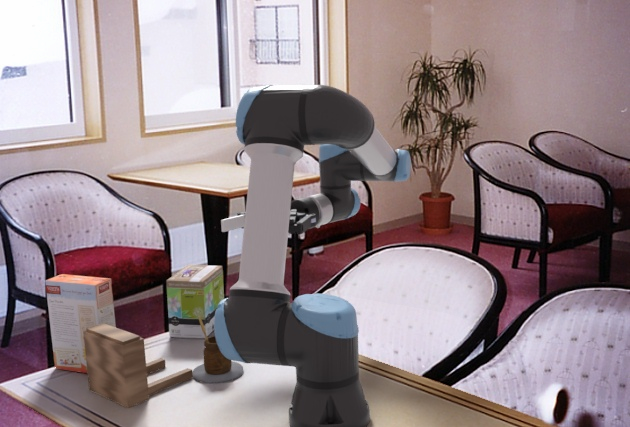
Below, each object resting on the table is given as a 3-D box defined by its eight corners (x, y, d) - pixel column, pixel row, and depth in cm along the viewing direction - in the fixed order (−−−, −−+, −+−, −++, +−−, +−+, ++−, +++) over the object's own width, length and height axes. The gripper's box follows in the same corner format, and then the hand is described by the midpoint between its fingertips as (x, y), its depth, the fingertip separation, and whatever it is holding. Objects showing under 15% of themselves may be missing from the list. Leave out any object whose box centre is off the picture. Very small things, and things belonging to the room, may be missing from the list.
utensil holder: (230, 375, 174) (227, 321, 171) (201, 376, 174) (197, 322, 171) (233, 364, 179) (230, 312, 177) (204, 365, 179) (201, 313, 177)
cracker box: (121, 367, 182) (112, 277, 178) (103, 377, 177) (94, 285, 172) (72, 359, 188) (62, 272, 184) (54, 369, 183) (43, 279, 178)
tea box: (207, 339, 197) (203, 280, 194) (168, 338, 199) (163, 280, 196) (226, 318, 211) (222, 263, 208) (189, 317, 213) (185, 263, 210)
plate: (254, 370, 177) (253, 368, 177) (215, 387, 169) (215, 385, 169) (220, 359, 184) (220, 356, 184) (182, 375, 176) (181, 372, 176)
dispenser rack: (197, 379, 174) (192, 318, 171) (128, 408, 161) (122, 343, 158) (157, 364, 183) (152, 306, 180) (89, 390, 170) (82, 328, 168)
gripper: (350, 234, 185) (284, 254, 170) (273, 221, 202) (207, 239, 186) (349, 202, 183) (282, 219, 168) (271, 192, 200) (204, 206, 185)
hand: (242, 229), depth 177 cm, fingers open, 13 cm apart
